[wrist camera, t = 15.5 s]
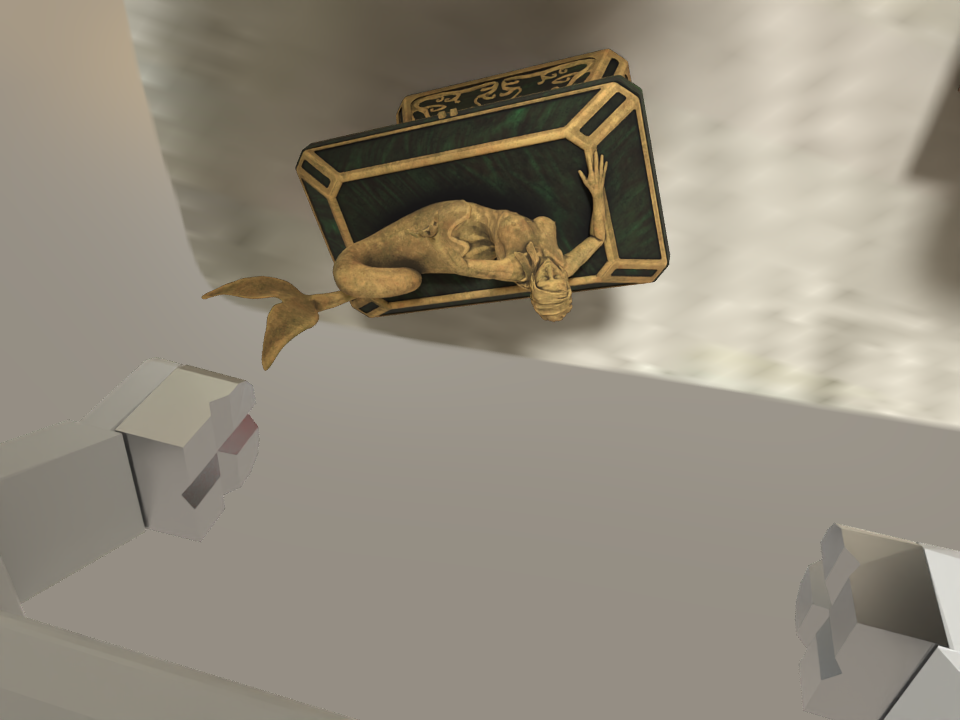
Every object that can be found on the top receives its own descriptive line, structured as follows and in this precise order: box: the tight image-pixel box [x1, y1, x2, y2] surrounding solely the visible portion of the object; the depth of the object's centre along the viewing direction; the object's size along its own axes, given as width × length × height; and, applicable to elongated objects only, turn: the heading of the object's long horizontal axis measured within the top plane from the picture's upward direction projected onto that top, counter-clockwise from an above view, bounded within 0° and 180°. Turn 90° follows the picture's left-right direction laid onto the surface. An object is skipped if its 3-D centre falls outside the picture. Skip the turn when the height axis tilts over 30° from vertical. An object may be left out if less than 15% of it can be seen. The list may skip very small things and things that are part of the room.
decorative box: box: [202, 49, 670, 371], centre depth 38 cm, size 20×10×20 cm, turn 106°
